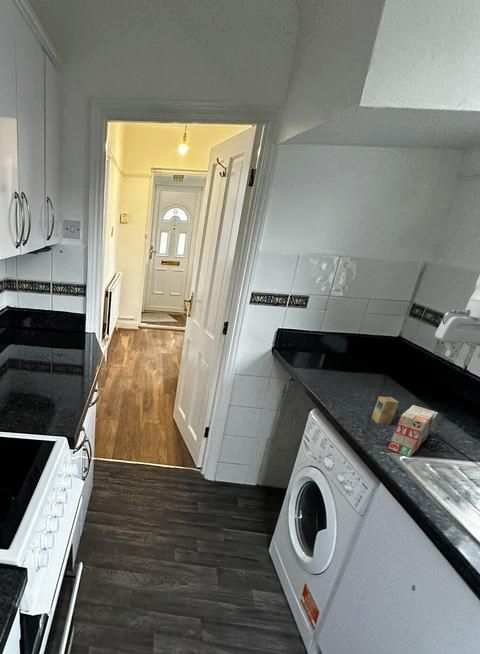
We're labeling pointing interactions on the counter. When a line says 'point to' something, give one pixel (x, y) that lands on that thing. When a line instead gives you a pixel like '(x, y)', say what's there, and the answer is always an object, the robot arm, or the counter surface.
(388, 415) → the birch block
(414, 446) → the stack of blocks
